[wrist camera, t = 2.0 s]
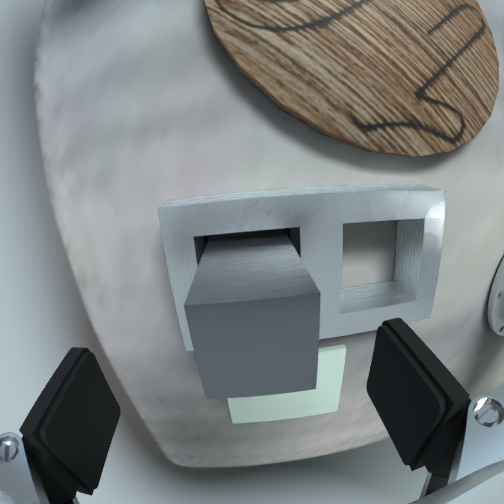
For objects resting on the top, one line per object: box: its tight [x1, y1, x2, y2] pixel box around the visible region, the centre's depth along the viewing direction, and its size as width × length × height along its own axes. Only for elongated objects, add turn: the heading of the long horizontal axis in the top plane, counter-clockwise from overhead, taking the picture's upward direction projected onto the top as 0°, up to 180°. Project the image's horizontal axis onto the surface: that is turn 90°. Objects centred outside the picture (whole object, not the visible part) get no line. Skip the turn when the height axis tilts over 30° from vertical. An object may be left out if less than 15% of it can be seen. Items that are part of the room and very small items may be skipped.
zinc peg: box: [184, 228, 321, 399], centre depth 14 cm, size 4×4×10 cm
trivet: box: [204, 0, 499, 157], centre depth 13 cm, size 25×25×2 cm
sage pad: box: [227, 344, 346, 424], centre depth 23 cm, size 10×8×1 cm
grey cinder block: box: [158, 184, 446, 351], centre depth 18 cm, size 17×9×4 cm, turn 95°
